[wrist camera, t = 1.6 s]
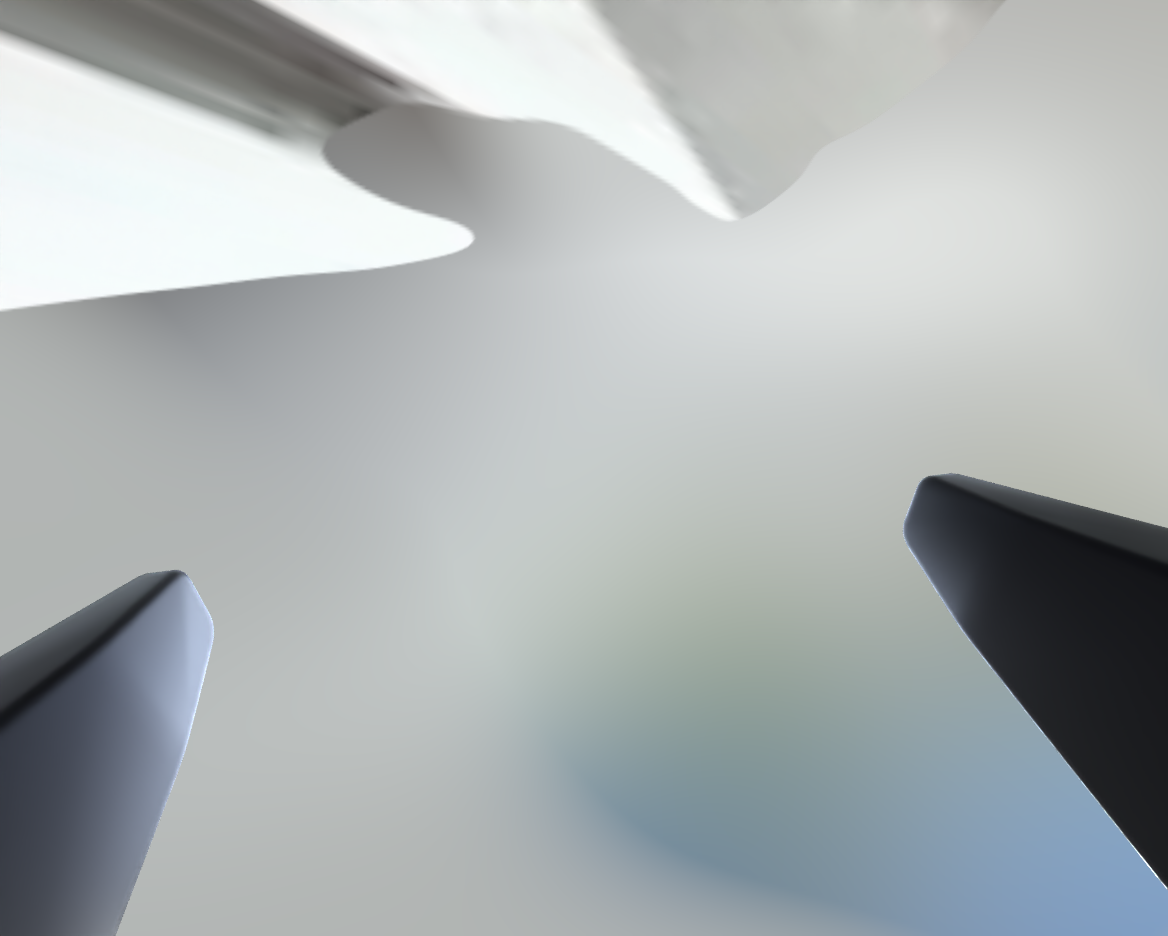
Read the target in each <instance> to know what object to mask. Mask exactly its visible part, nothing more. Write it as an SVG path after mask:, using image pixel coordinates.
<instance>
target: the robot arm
mask: <svg viewBox="0 0 1168 936" xmlns="http://www.w3.org/2000/svg"><path fill="white" fill-rule="evenodd" d="M903 534H904V539H905V542H906V544H907V546H908V548H909V549H910V551H911V552H912V554H913V555H914V557H915V558H916V560H917V562H918V563H919V565H920V566H921V568H922V569H923V571H924V573H925V574H926V576H927V577H928V579H929V580H930V582H931V583H932V585H933V587H934V588H935V590H936V591H937V593H938V594H939V596H940V598H941V599H942V601H943V602H944V604H945V605H946V607H947V608H948V610H949V612H950V613H951V615H952V616H953V618H954V619H955V621H956V622H957V624H958V625H959V627H960V628H961V630H962V631H963V632H964V633H965V635H966V636H967V638H968V639H969V640H970V642H971V643H972V644H973V646H974V647H975V648H976V649H977V651H978V652H979V653H980V654H981V656H982V657H983V658H984V659H985V661H986V662H987V663H988V665H989V666H990V667H991V668H992V669H993V671H994V672H995V673H996V675H997V676H998V677H999V678H1000V680H1001V681H1002V682H1003V683H1004V685H1005V686H1006V687H1007V688H1008V690H1009V691H1010V692H1011V693H1012V695H1013V696H1014V697H1015V698H1016V700H1017V701H1018V702H1019V703H1020V705H1021V706H1022V707H1023V709H1024V710H1025V711H1026V712H1027V714H1028V715H1029V716H1030V717H1031V719H1032V720H1033V721H1034V722H1035V724H1036V725H1037V726H1038V727H1039V729H1040V730H1041V731H1042V732H1043V734H1044V735H1045V736H1046V738H1047V739H1048V740H1049V741H1050V742H1051V744H1052V745H1053V746H1054V748H1055V749H1056V750H1057V751H1058V752H1059V754H1060V755H1061V756H1062V758H1063V759H1064V760H1065V761H1066V762H1067V764H1068V765H1069V767H1070V768H1071V769H1072V770H1073V771H1074V773H1075V774H1076V775H1077V777H1078V778H1079V779H1080V780H1081V781H1082V783H1083V784H1084V785H1085V787H1086V788H1087V789H1088V790H1089V792H1090V793H1091V794H1092V795H1093V797H1094V798H1095V799H1096V800H1097V802H1098V803H1099V804H1100V806H1101V807H1102V808H1103V809H1104V811H1105V812H1106V813H1107V814H1108V816H1109V817H1110V818H1111V819H1112V820H1113V822H1114V823H1115V824H1116V826H1117V827H1118V828H1119V829H1120V831H1121V832H1122V833H1123V834H1124V836H1125V837H1126V838H1127V839H1128V841H1129V842H1130V843H1131V844H1132V846H1133V847H1134V848H1135V849H1136V851H1137V852H1138V853H1139V855H1140V856H1141V857H1142V858H1143V860H1144V861H1145V862H1146V863H1147V865H1148V866H1149V867H1150V868H1151V869H1152V871H1153V872H1154V874H1155V875H1156V876H1157V877H1158V878H1159V880H1160V881H1161V882H1162V883H1163V884H1164V886H1165V887H1166V889H1167V890H1168V528H1165V527H1161V526H1157V525H1153V524H1149V523H1146V522H1142V521H1138V520H1134V519H1130V518H1126V517H1123V516H1119V515H1114V514H1111V513H1107V512H1103V511H1099V510H1095V509H1091V508H1088V507H1084V506H1080V505H1076V504H1072V503H1068V502H1065V501H1061V500H1057V499H1053V498H1049V497H1045V496H1041V495H1037V494H1034V493H1029V492H1026V491H1022V490H1018V489H1014V488H1010V487H1007V486H1003V485H999V484H995V483H991V482H987V481H983V480H979V479H975V478H972V477H968V476H964V475H960V474H952V473H949V474H941V475H933V476H928V477H926V478H924V479H922V480H921V482H920V483H919V484H918V487H917V489H916V491H915V494H914V497H913V499H912V502H911V505H910V508H909V510H908V513H907V516H906V518H905V521H904V524H903ZM213 637H214V628H213V622H212V619H211V616H210V614H209V612H208V610H207V609H206V607H205V605H204V603H203V602H202V599H201V598H200V596H199V594H198V592H197V590H196V589H195V587H194V585H193V583H192V581H191V580H190V578H189V577H188V575H186V573H184V572H182V571H179V570H171V571H163V572H156V573H147V574H144V575H141V576H139V577H137V578H135V579H133V580H132V581H130V582H128V583H126V584H125V585H123V586H121V587H119V588H118V589H116V590H114V591H113V592H111V593H109V594H107V595H106V596H104V597H102V598H101V599H99V600H97V601H95V602H94V603H92V604H90V605H89V606H87V607H85V608H83V609H82V610H80V611H78V612H76V613H75V614H73V615H71V616H70V617H68V618H66V619H65V620H63V621H61V622H59V623H58V624H56V625H54V626H52V627H51V628H49V629H47V630H45V631H44V632H42V633H40V634H39V635H37V636H35V637H33V638H32V639H30V640H28V641H26V642H25V643H23V644H22V645H20V646H18V647H16V648H15V649H13V650H11V651H9V652H8V653H6V654H4V655H2V656H1V657H0V936H115V935H116V933H117V930H118V927H119V925H120V922H121V920H122V917H123V914H124V912H125V909H126V907H127V904H128V901H129V899H130V896H131V893H132V891H133V888H134V886H135V883H136V880H137V878H138V875H139V872H140V870H141V867H142V865H143V862H144V859H145V857H146V854H147V852H148V849H149V846H150V844H151V841H152V838H153V836H154V833H155V830H156V828H157V825H158V822H159V820H160V817H161V815H162V812H163V809H164V807H165V804H166V802H167V799H168V797H169V794H170V791H171V789H172V786H173V783H174V781H175V778H176V775H177V773H178V770H179V767H180V764H181V761H182V759H183V756H184V753H185V749H186V746H187V742H188V739H189V735H190V731H191V727H192V723H193V719H194V715H195V711H196V707H197V703H198V699H199V695H200V692H201V687H202V684H203V679H204V676H205V672H206V667H207V664H208V660H209V656H210V651H211V647H212V643H213Z"/></svg>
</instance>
